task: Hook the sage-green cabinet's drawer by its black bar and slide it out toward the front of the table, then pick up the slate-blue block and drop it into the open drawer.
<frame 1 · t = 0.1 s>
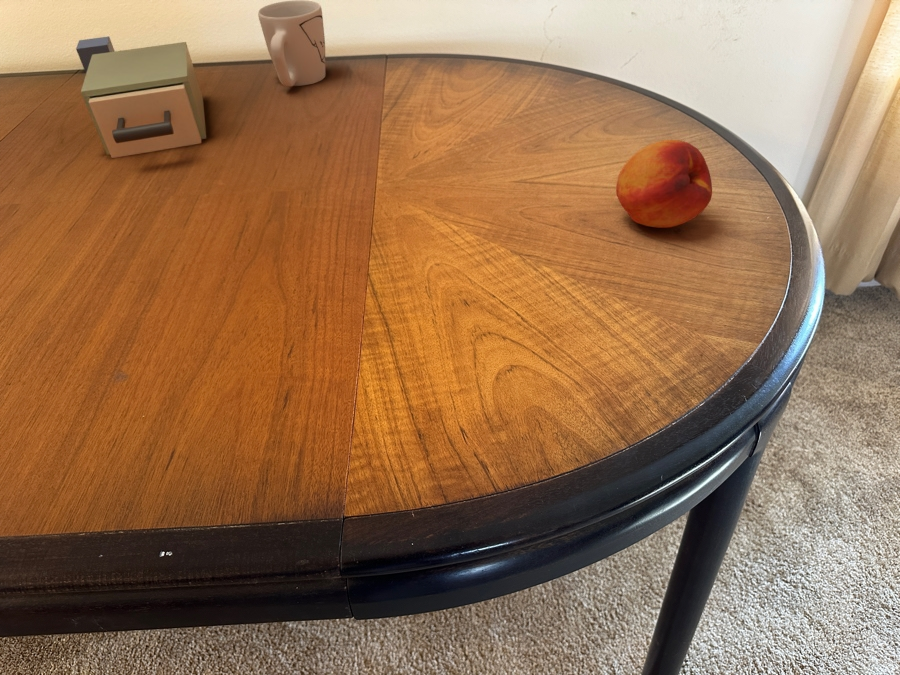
cabinet: (161, 132, 83), on the table
block: (104, 71, 102), on the table
drawer: (148, 112, 77), point 4 cm above the table, slide at 0.0 cm
mug: (300, 88, 93), on the table
fruit: (654, 224, 62), on the table
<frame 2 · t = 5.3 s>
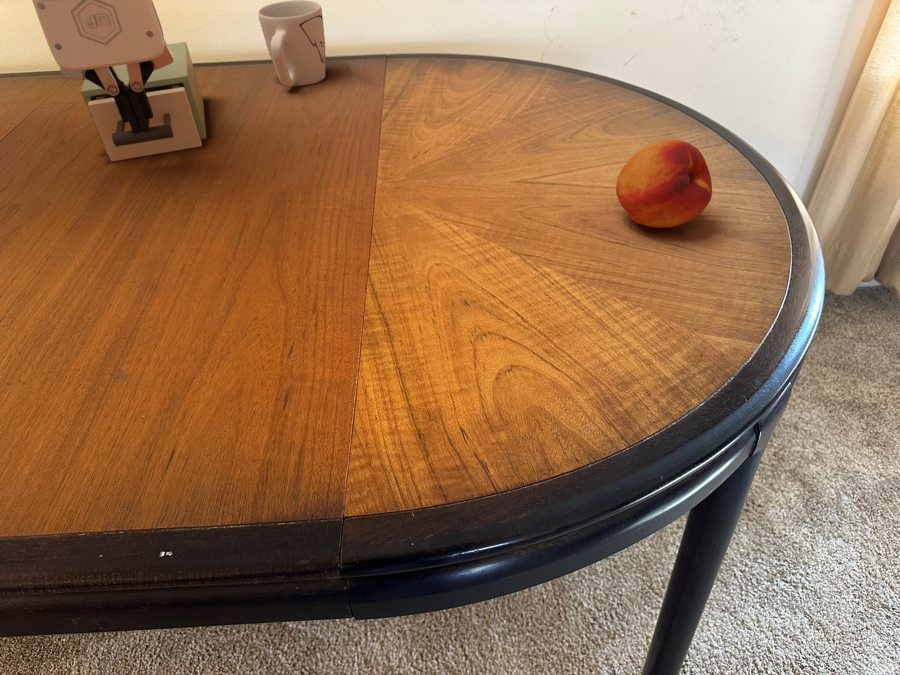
hand: (141, 126, 70), 6 cm above the table, tool pointing down, fingers closed
drawer: (148, 115, 77), point 4 cm above the table, slide at 0.9 cm, touching gripper
everything else where it was.
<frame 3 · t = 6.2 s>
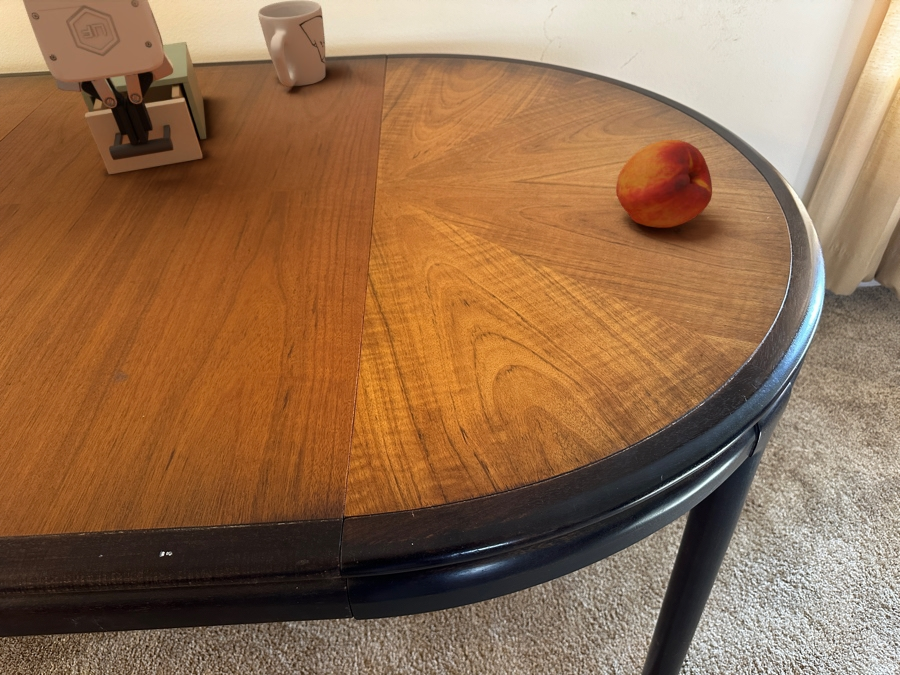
hand: (140, 138, 68), 6 cm above the table, tool pointing down, fingers closed
drawer: (147, 126, 74), point 4 cm above the table, slide at 4.3 cm, touching gripper
everything else where it was.
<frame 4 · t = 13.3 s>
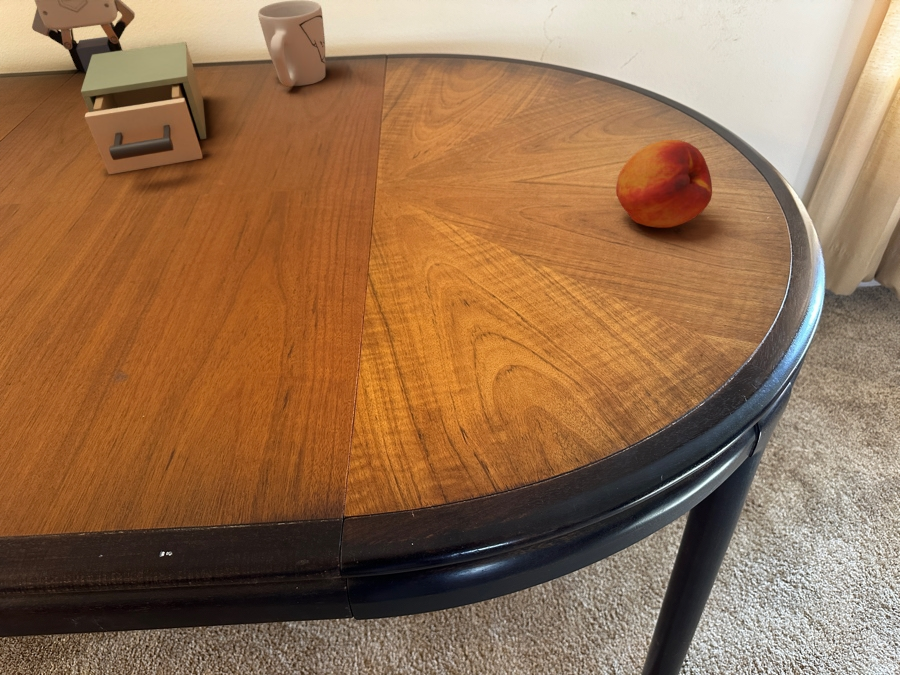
hand: (103, 69, 101), 0 cm above the table, tool pointing down, fingers closed on block, 4 cm apart
block: (104, 71, 102), on the table, touching gripper
drawer: (147, 126, 74), point 4 cm above the table, slide at 4.3 cm
everything else where it was.
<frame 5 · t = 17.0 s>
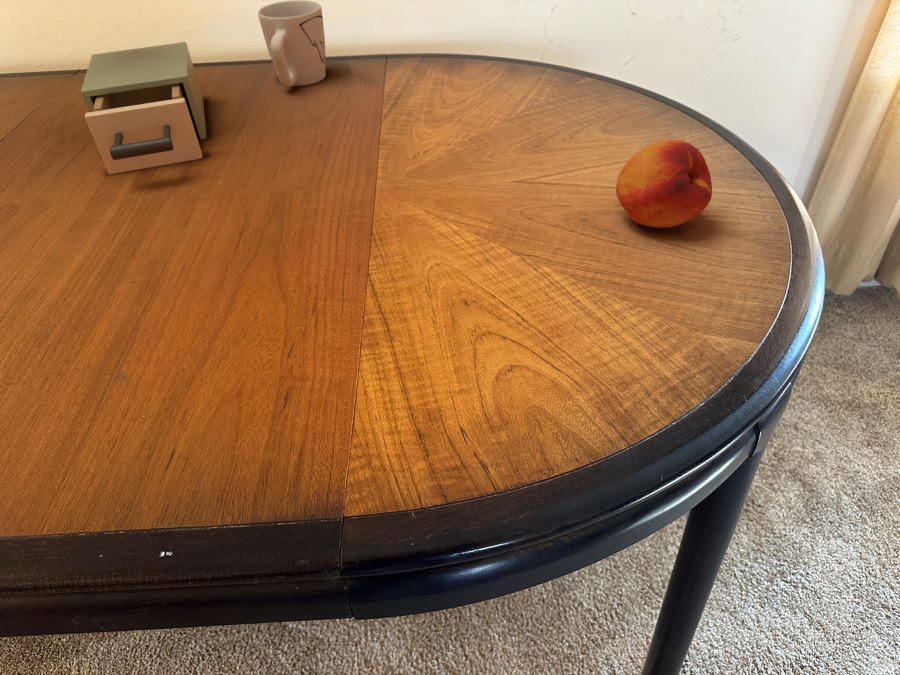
when the fingers open (9 cm above the table, at t = 20.7 s): block stays where it is and tips over, resting on cabinet, drawer.
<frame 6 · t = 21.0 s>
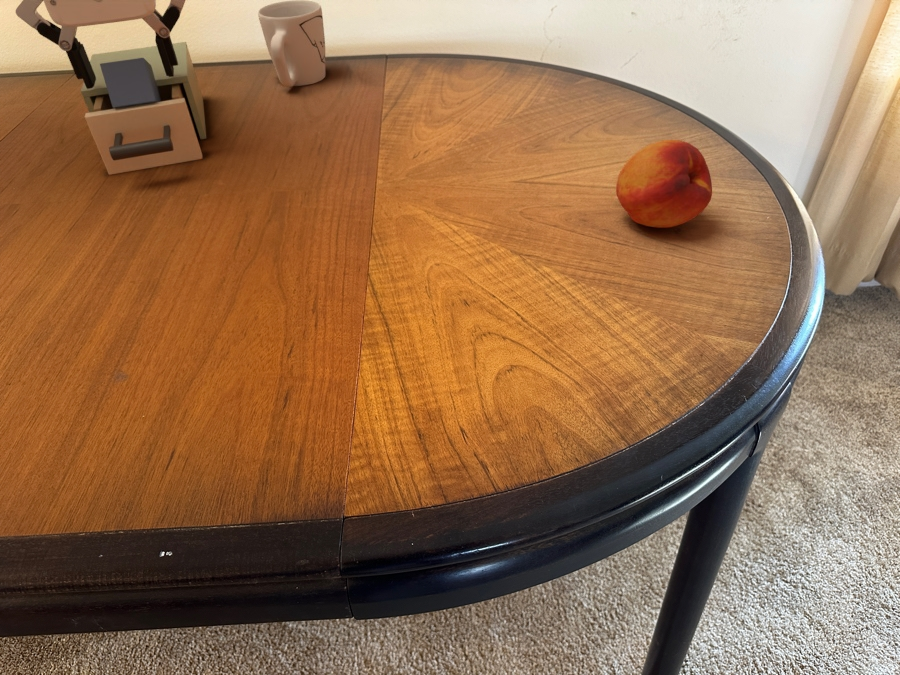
hand: (131, 77, 72), 9 cm above the table, tool pointing down, fingers open, 7 cm apart
block: (136, 88, 73), point 8 cm above the table, tilted 63°, touching cabinet, drawer
drawer: (147, 126, 74), point 4 cm above the table, slide at 4.4 cm, touching block
everything else where it was.
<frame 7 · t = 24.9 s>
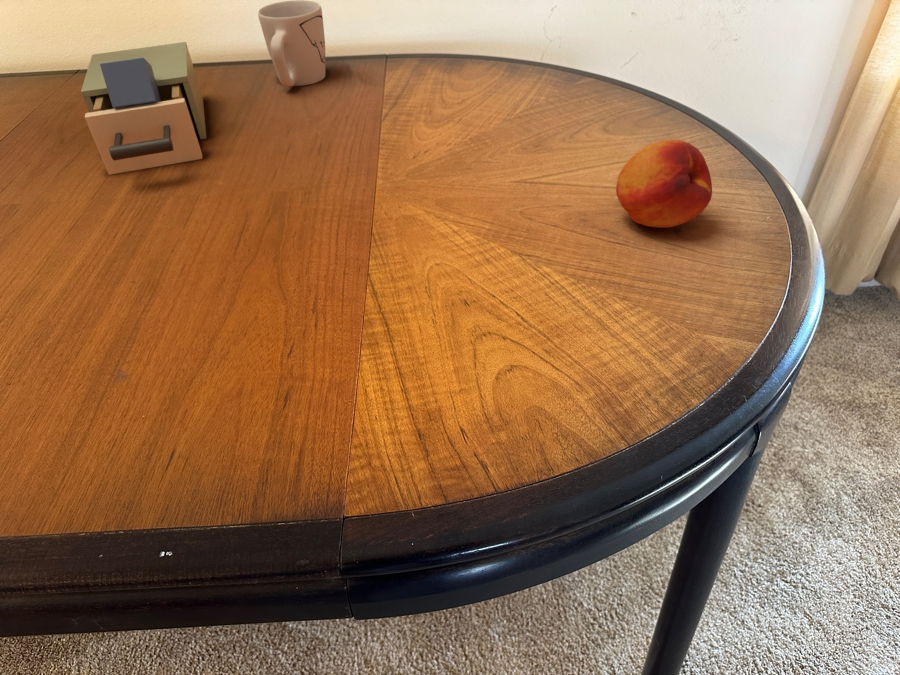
nothing on the table moved.
at the end: drawer slide at 4.4 cm; block inside the target area in the drawer (0.5 cm from its centre), point 7.9 cm above the cabinet's base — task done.
